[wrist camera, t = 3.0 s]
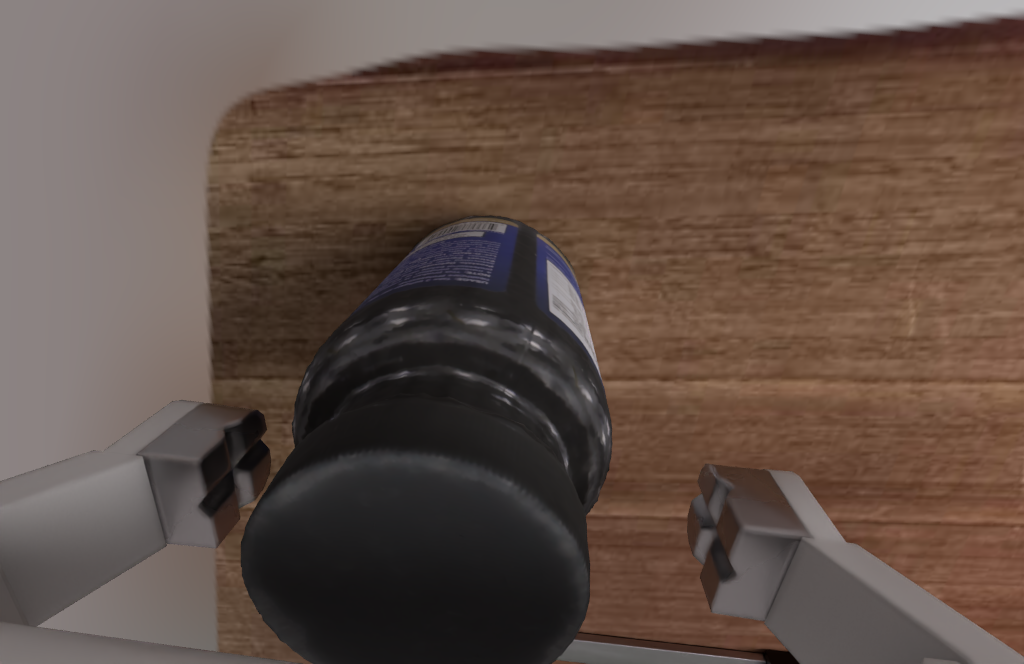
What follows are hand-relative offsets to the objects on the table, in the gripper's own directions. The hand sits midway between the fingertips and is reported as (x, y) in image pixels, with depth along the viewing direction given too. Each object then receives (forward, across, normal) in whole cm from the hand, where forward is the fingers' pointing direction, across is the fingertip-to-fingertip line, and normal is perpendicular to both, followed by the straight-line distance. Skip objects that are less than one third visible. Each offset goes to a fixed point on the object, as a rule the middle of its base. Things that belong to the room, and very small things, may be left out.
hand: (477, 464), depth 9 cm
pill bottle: (+8, +1, 0) cm, 8 cm away
